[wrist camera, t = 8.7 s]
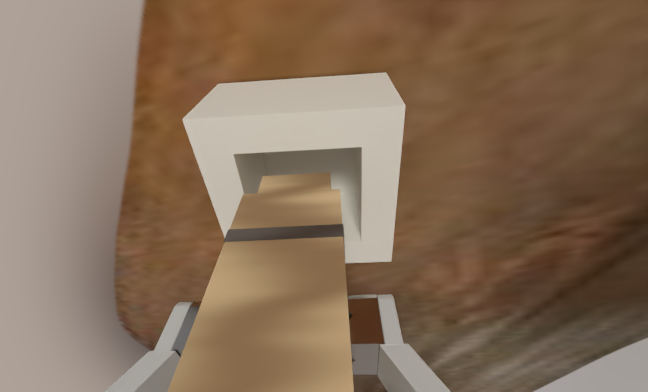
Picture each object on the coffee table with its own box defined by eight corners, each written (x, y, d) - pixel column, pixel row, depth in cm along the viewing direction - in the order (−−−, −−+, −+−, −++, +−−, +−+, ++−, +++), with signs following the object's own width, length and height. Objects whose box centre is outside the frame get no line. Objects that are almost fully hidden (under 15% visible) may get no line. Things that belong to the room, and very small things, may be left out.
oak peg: (338, 163, 14) (370, 595, 4) (342, 229, 16) (366, 604, 7) (251, 168, 14) (86, 594, 4) (267, 233, 16) (182, 603, 7)
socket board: (386, 72, 16) (405, 105, 12) (379, 206, 21) (391, 261, 17) (218, 83, 16) (182, 119, 12) (252, 212, 22) (235, 267, 18)
